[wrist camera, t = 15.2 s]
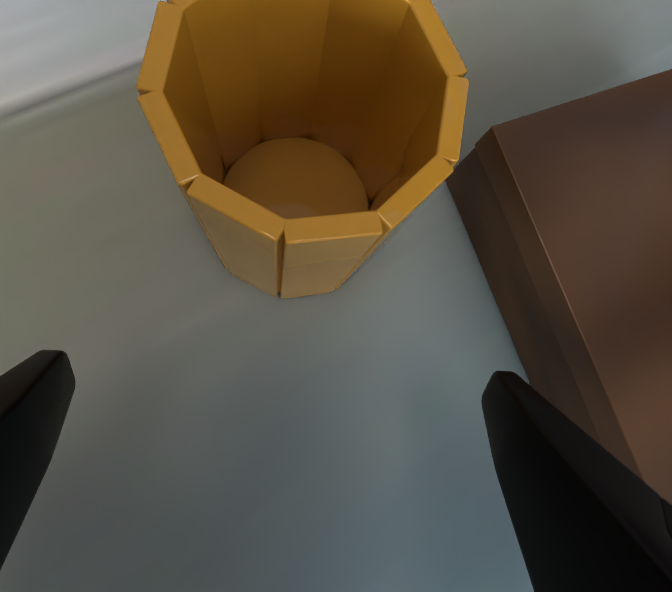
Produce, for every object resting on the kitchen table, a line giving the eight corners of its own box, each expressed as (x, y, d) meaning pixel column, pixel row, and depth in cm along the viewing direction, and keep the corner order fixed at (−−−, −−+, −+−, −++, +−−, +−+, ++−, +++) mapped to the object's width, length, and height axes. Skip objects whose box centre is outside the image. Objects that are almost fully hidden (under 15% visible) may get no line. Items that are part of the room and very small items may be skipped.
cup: (412, 216, 17) (529, 99, 9) (289, 335, 16) (302, 314, 8) (299, 99, 17) (320, -119, 9) (167, 207, 16) (61, 62, 8)
